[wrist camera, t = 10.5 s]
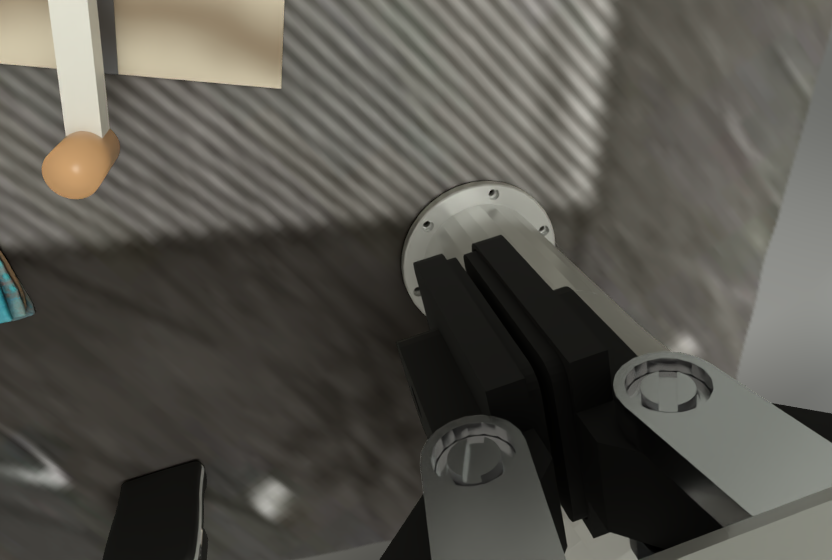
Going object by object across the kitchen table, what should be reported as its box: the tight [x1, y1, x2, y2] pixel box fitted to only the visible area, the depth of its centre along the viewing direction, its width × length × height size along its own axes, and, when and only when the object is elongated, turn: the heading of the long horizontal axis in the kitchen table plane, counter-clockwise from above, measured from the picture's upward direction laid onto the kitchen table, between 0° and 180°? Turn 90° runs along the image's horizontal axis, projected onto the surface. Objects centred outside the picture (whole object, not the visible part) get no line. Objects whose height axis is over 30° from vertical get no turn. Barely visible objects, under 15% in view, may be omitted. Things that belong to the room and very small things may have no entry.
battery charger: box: [103, 461, 208, 560], centre depth 50 cm, size 7×4×11 cm, turn 101°
